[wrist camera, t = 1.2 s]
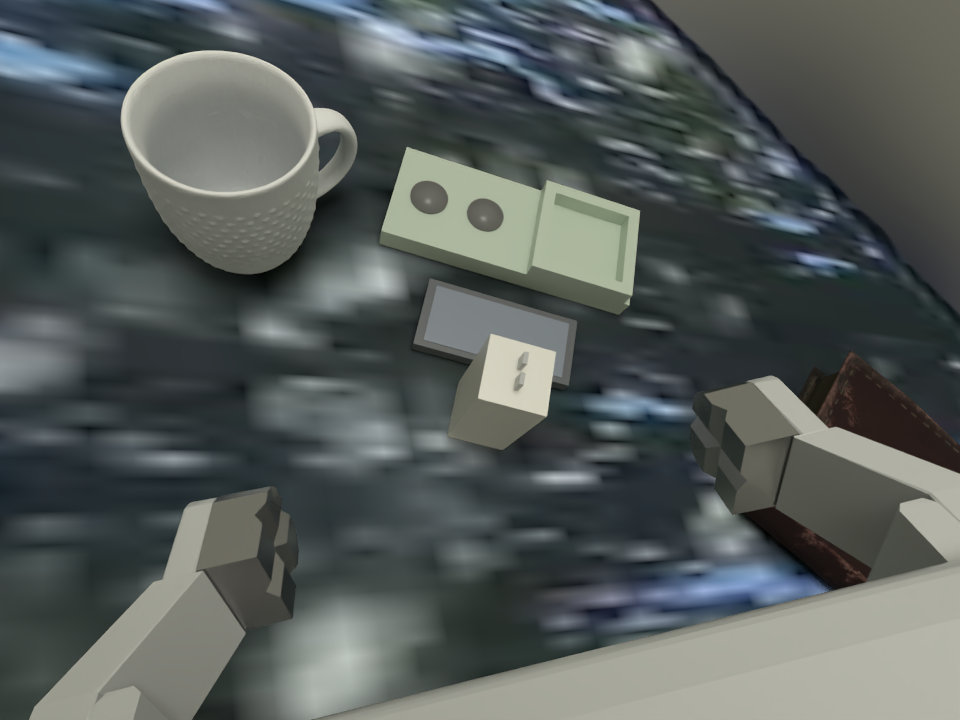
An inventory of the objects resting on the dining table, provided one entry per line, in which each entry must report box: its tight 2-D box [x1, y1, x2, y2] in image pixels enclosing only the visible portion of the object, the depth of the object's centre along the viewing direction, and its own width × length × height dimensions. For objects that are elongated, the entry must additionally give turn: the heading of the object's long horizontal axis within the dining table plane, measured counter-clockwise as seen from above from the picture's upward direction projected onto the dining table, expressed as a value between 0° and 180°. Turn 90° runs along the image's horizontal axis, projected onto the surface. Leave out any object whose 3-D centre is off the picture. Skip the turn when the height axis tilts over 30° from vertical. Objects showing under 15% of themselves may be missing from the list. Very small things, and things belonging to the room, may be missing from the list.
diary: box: [744, 351, 960, 590], centre depth 50 cm, size 19×25×5 cm
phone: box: [411, 279, 577, 390], centre depth 48 cm, size 13×6×1 cm, turn 80°
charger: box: [447, 334, 556, 450], centre depth 41 cm, size 4×4×11 cm
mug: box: [121, 51, 357, 274], centre depth 41 cm, size 15×11×13 cm
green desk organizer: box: [379, 147, 640, 315], centre depth 51 cm, size 22×9×4 cm, turn 80°
